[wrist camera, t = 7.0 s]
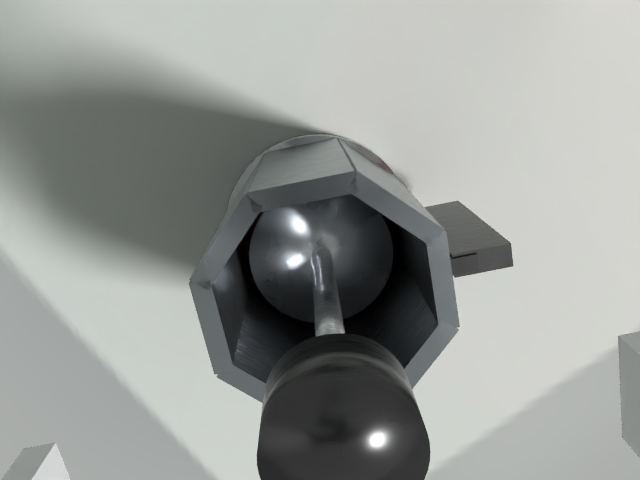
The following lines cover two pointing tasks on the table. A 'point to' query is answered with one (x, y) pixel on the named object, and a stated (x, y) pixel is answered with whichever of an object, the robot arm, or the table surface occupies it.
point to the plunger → (333, 350)
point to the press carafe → (389, 306)
